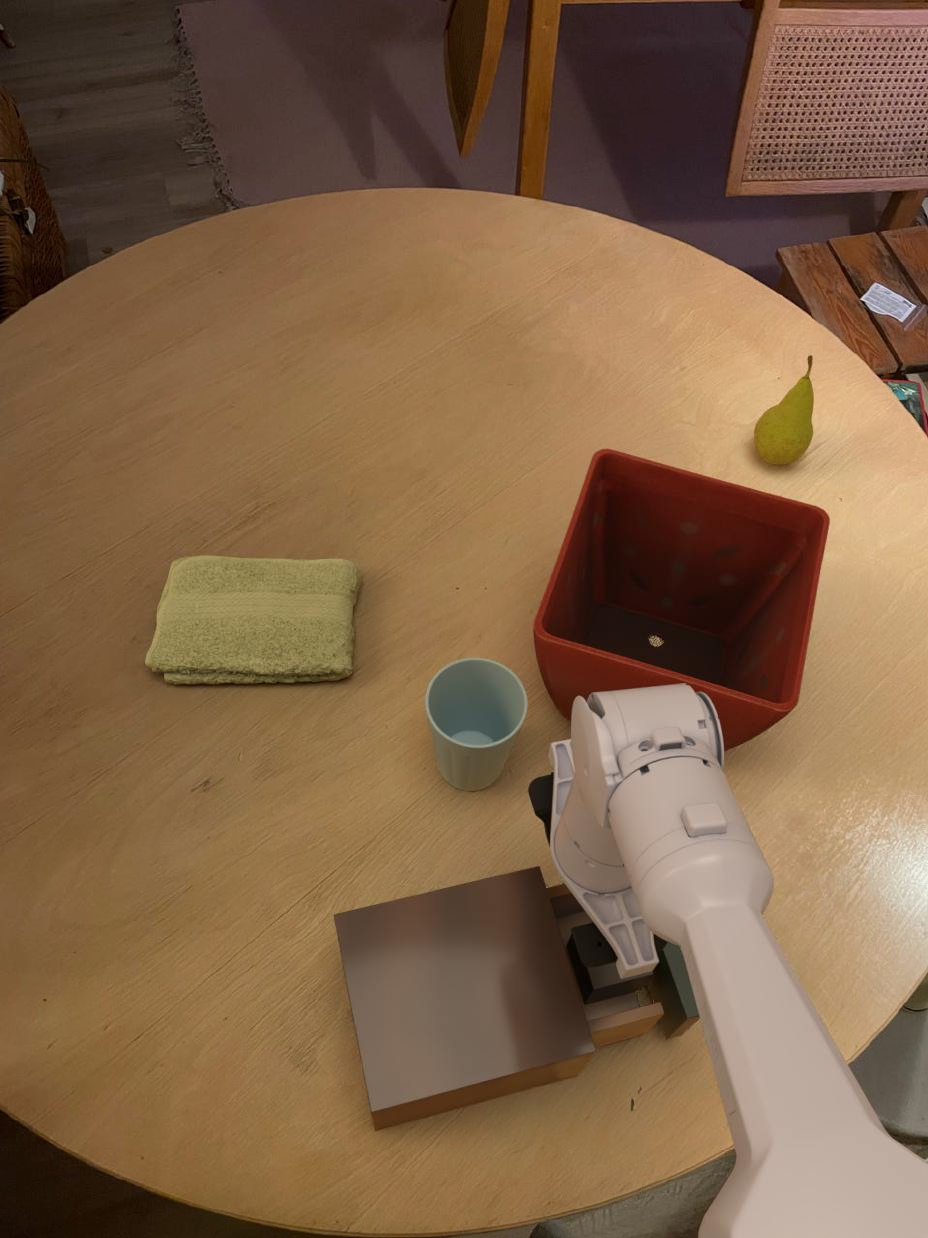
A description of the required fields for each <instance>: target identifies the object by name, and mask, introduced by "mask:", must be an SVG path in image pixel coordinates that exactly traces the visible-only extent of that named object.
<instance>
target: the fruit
mask: <svg viewBox="0 0 928 1238" xmlns="http://www.w3.org/2000/svg"><path fill="white" fill-rule="evenodd" d="M806 361H807V366H808V367H807V370H806V371H807V372H806V374H805V375H803V376H801V377H800V378H799V379H798V380H797V382H796V384H794V386H793V387H792V388H791V389H790V390H789V391H787V393H786V394H785V396H783V398H782V399H781V401H780V402H779V403H777V404H776V405H773V406H771V407H770V408H768V409H767V410H766V411H764V412H763V413H762V414H761V416H760V417H759V418H758V420H757V422H756V423H755V426H754V429H753V441H754V447H755V449H756V453H757V454H758V456H759V457H760V458H761V459H762V460H764V461H765V462H767V463H768V464H772V465H778V466H779V465H780V466H782V465H788V464H791V463H794V462H796V461H797V460H799V459H800V458H802V457H803V456H804V454H806V453H807V450H808V449H809V447H810V445H811V443H812V440H813V436H814V425H813V412H814V404H815V403H814V402H815V398H814V396H815V394H814V388H813V384H812V380H811V378H810V375H811V371H812V368H813V367H812V366H813V355H811V354H810V355H808V356H807V359H806Z"/></svg>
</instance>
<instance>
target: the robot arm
mask: <svg viewBox="0 0 928 1238" xmlns="http://www.w3.org/2000/svg"><path fill="white" fill-rule="evenodd" d="M570 721H571V722H570V738H567V739H561V740H559V741H554V742H550V746H549V749H548V754H547V759H548V762H549V765H550V767H551V769H553V771H551V772H550V773H549V774H545V775H541V776H537V777H535V778H533V779H532V780H531V782H530V783H529V785H528V789H527V793H528V796H529V799H530V802H531V806H532V809H533V813H534V815H535V816H536V817H537V818H538V819H540V820H541V822H542V823H543V826H544V833H545V838H546V840H547V843H548V846H549V853H550V859H551V863H552V865H553V868H554V870H555V872H556V873H557V875H558V876H559V879H561V881H562V882H563V884H566V886H567V887H568V888H569V890H570V891H571V892H572V894H573V895H574V896H575V898H576V899H577V901H578V902H579V903H580V905H581V906H582V907H583V909H584V910H585V911H586V913H587V914H588V915H589V917H590V918H591V919H592V921H593V922H592V923H588V924H584V925H580V926H576V927H572V928H571V932H572V935H573V938H574V942H575V945H576V948H577V951H578V954H579V957H580V959H581V961H582V963H583V964H584V966H586V967H599V966H603V965H607V964H611V963H614V962H616V966H617V970H618V973H619V976H620V978H621V979H623V978H627V977H631V976H635V975H639V974H643V973H646V972H650V971H652V970H653V969H654V968H655V966H656V965H657V964H658V963H659V959H658V956H657V953H656V952H657V951H660V950H662V949H663V948H665V946H666V945H667V943H668V942H671V943H673V944H675V945H678V946H680V949H681V952H682V955H683V957H684V960H685V964H686V967H687V971H688V975H689V979H690V982H691V986H692V990H693V994H694V997H695V1001H696V1005H697V1009H698V1012H699V1016H700V1019H699V1020H700V1023H701V1028H702V1031H703V1035H704V1038H705V1042H706V1046H707V1049H708V1053H709V1057H710V1060H711V1061H710V1062H711V1064H712V1069H713V1072H714V1076H715V1080H716V1083H717V1087H718V1092H719V1095H720V1098H721V1102H722V1106H723V1109H724V1110H723V1111H724V1113H725V1117H726V1121H727V1124H728V1128H729V1132H730V1137H731V1140H732V1144H733V1147H734V1151H735V1157H736V1158H735V1164H734V1166H733V1168H732V1171H731V1172H730V1174H729V1176H728V1178H727V1179H726V1181H725V1182H724V1184H723V1186H722V1187H721V1188H720V1190H719V1191H718V1193H717V1195H716V1196H715V1198H714V1200H713V1201H712V1203H711V1204H710V1206H709V1207H708V1209H707V1210H706V1212H705V1213H704V1215H703V1218H702V1220H701V1223H700V1225H699V1228H698V1233H697V1238H928V1161H927V1160H926V1159H923V1158H922V1157H921V1156H919V1155H918V1154H916V1153H915V1152H913V1151H912V1150H911V1149H909V1148H907V1147H906V1146H905V1145H903V1144H902V1143H900V1142H898V1140H895V1139H894V1138H893V1137H892V1136H891V1135H890V1134H889V1132H888V1131H887V1130H886V1129H885V1127H884V1125H883V1123H882V1122H881V1120H880V1119H879V1117H878V1115H877V1113H876V1111H875V1110H874V1108H873V1107H872V1106H873V1105H872V1104H871V1103H870V1101H869V1099H868V1097H867V1096H866V1094H865V1093H864V1091H863V1089H862V1087H861V1085H860V1084H859V1082H858V1080H857V1078H856V1076H855V1075H854V1073H853V1071H852V1070H851V1069H852V1068H850V1066H849V1064H848V1062H847V1060H846V1059H845V1058H844V1055H843V1054H842V1052H841V1050H840V1048H839V1046H838V1045H837V1043H836V1041H835V1040H834V1038H833V1036H832V1035H831V1033H830V1031H829V1029H828V1027H827V1026H826V1024H825V1022H824V1020H823V1018H822V1017H821V1015H820V1013H819V1012H818V1009H817V1008H816V1006H815V1005H814V1003H813V1001H812V1000H811V997H810V996H809V994H808V992H807V991H806V989H805V987H804V986H803V983H802V982H801V980H800V979H799V977H798V975H797V973H796V971H795V970H794V967H793V966H792V965H791V963H790V961H789V959H788V957H787V956H786V954H785V952H784V950H783V948H782V947H781V945H780V943H779V942H778V940H777V939H776V937H775V935H774V933H773V931H772V930H771V928H770V926H769V923H768V922H767V920H766V919H765V917H764V914H765V912H766V910H767V908H768V907H769V904H770V902H771V900H772V897H773V894H774V890H775V889H774V887H775V882H774V881H775V880H774V879H775V878H774V875H773V871H772V870H771V868H770V866H769V864H768V863H769V862H768V861H767V859H766V857H765V856H764V853H763V851H762V849H761V847H760V845H759V843H758V841H757V839H756V836H755V835H754V832H753V830H752V828H751V826H750V824H749V822H748V820H747V818H746V816H745V814H744V812H743V809H742V808H741V806H740V803H739V801H738V799H737V797H736V795H735V794H734V791H733V789H732V787H731V784H730V783H729V781H728V779H727V776H726V774H725V773H724V767H725V751H724V743H723V735H722V730H721V725H720V721H719V719H718V715H717V712H716V709H715V707H714V705H713V703H712V701H711V699H710V698H709V697H708V696H707V695H706V694H705V693H703V692H697V693H695V692H694V690H693V689H692V688H691V687H690V686H689V685H686V683H683V684H673V685H663V686H654V687H644V688H635V689H625V690H615V691H605V692H595V693H591V694H590V695H589V697H588V700H587V702H586V701H585V699H584V698H583V697H582V696H577V697H576V698H575V700H574V703H573V707H572V715H571V720H570Z"/></svg>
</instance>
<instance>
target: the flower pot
mask: <svg viewBox="0 0 928 1238" xmlns="http://www.w3.org/2000/svg"><path fill="white" fill-rule="evenodd" d="M830 524H831V518H830V515H829V514H828V513H827V511H826V510H825V509H823V508H821V507H819V506H818V505H814V504H810V503H806V502H803V501H800V500H796V499H792V498H788V497H784V496H782V495H777V494H773V493H770V492H766V491H762V490H759V489H755V488H751V487H748V486H744V485H740V484H737V483H734V482H729V481H726V480H722V479H718V478H715V477H712V476H707V475H704V474H700V473H697V472H693V471H690V470H686V469H684V468H680V467H676V466H672V465H668V464H665V463H662V462H658V461H654V460H651V459H647V458H644V457H640V456H637V455H633V454H630V453H627V452H624V451H623V452H622V451H619V450H616V449H611V448H602V449H599V450H597V451H595V452H594V453H593V455H592V456H591V459H590V462H589V465H588V468H587V471H586V474H585V477H584V481H583V482H582V486H581V489H580V492H579V495H578V497H577V501H576V504H575V506H574V510H573V512H572V515H571V518H570V520H569V523H568V527H567V530H566V532H565V535H564V537H563V541H562V543H561V546H560V549H559V552H558V555H557V557H556V560H555V563H554V565H553V568H552V571H551V574H550V576H549V579H548V582H547V585H546V587H545V590H544V592H543V596H542V597H541V600H540V604H539V606H538V609H537V611H536V614H535V617H534V619H533V624H532V625H533V627H532V628H533V629H532V633H533V644H534V651H535V657H536V662H537V666H538V669H539V673H540V677H541V679H542V683H543V684H544V687H545V690H546V691H547V694H548V695H549V697H550V700H551V701H552V703H553V705H554V707H555V708H556V709H557V710H558V712H559V713H560V715H562V716H563V717H564V718H565V719H567V720H569V721H571V715H572V707H573V703H574V700H575V698H576V697H577V696H582V697H583V698H584V699H585V701H586V702H587V700H588V697H589V695H590V694H591V693H595V692H605V691H615V690H625V689H635V688H644V687H654V686H663V685H673V684H683V683H686V685H689V686H690V687H691V688H692V689H693V690H694V692H695V693H697V692H703V693H705V694H706V695H707V696H708V697H709V698H710V699H711V701H712V703H713V705H714V707H715V709H716V712H717V715H718V719H719V721H720V725H721V730H722V735H723V743H724V752H726V751H728V750H731V749H734V748H736V747H738V746H741V745H744V744H745V743H747V742H749V741H751V740H753V739H755V738H756V737H758V736H759V735H761V734H763V733H765V732H766V731H767V730H769V729H770V728H772V727H773V726H774V725H776V724H778V723H779V722H780V721H781V720H783V719H784V718H785V717H787V716H788V715H789V714H790V713H791V712H792V711H793V710H794V709H795V708H796V707H797V706H798V703H799V701H800V695H801V690H802V684H803V683H802V681H803V676H804V670H805V665H806V660H807V659H806V658H807V653H808V647H809V641H810V634H811V629H812V624H813V618H814V612H815V606H816V599H817V593H818V588H819V582H820V576H821V570H822V566H823V561H824V557H825V556H824V555H825V551H826V546H827V545H826V544H827V539H828V534H829V528H830ZM652 635H658V636H660V637H661V638H662V641H663V642H662V644H661V645H658V646H656V645H654V644H651V641H650V637H651V636H652Z"/></svg>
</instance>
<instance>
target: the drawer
mask: <svg viewBox="0 0 928 1238" xmlns="http://www.w3.org/2000/svg"><path fill="white" fill-rule="evenodd" d="M546 888H547V892H548V895H549V898H550V901H551V905H552V908H553V911H554V914H555V918H556V921H557V924H558V928H559V931H560V934H561V937H562V941H563V944H564V947H565V951H566V954H567V957H568V960H569V964H570V967H571V970H572V973H573V977H574V980H575V983H576V987H577V990H578V993H579V996H580V1000H581V1003H582V1006H583V1010H584V1013H585V1016H586V1019H587V1023H588V1026H589V1029H590V1032H591V1036H592V1039H593V1042H594V1046H595V1049H596V1048H600V1047H604V1046H607V1045H610V1044H614V1043H618V1042H622V1041H625V1040H628V1039H629V1040H630V1039H632V1038H636V1037H640V1036H644V1035H647V1034H648V1033H649V1032H650V1030H651V1029H652V1028H653V1027H654V1026H655V1025H656V1024H657V1023H658V1022H659V1023H660V1025H661V1028H662V1032H663V1034H664V1038H665V1040H667V1041H668V1040H672V1039H676V1038H679V1037H682V1036H683V1035H684V1034H685V1033H686V1032H687V1031H688V1030H690V1028H692V1026H694V1025H695V1024H696V1023H697V1022H698V1021H699V1020H700V1016H699V1012H698V1009H697V1005H696V1001H695V997H694V994H693V990H692V986H691V982H690V979H689V975H688V971H687V967H686V964H685V960H684V956H683V952H682V949H681V946H678V945H675V944H673V943H671V942H668V943H667V945H666V946H665V948H663V949H662V950H660V951H657V952H656V953H657V956H658V959H659V963H658V964H657V965H656V966H655V968H654V969H653V972H654V975H653V976H652V977H651V979H650V980H649V981H648V982H647V984H646V985H647V987H648V991H649V994H650V996H651V1000H652V1002H653V1003H650V1004H646V1005H642V1006H641V1005H640V1001H639V999H638V995H637V993H636V992H632V993H629V994H625V995H621V996H617V997H613V998H610V999H606V1000H602V1001H598V1002H594V1003H591V1004H587V1005H585V1004H584V1001H583V998H582V995H581V991H580V988H579V985H578V982H577V978H576V975H575V972H574V969H573V965H572V962H571V959H570V956H569V952H568V949H567V946H566V945H567V943H568V940H569V938H570V936H571V934H572V932H571V928H572V927H576V926H580V925H584V924H588V923H592V922H593V921H592V919H591V918H590V917H589V915H588V914H587V913H586V911H585V910H584V909H583V907H582V906H581V905H580V903H579V902H578V901H577V899H576V898H575V896H574V895H573V894H572V892H571V891H570V890H569V888H568V887H567V886H566V884H565V883H561V884H557V885H556V884H555V885H553V886H548V887H546Z"/></svg>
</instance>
